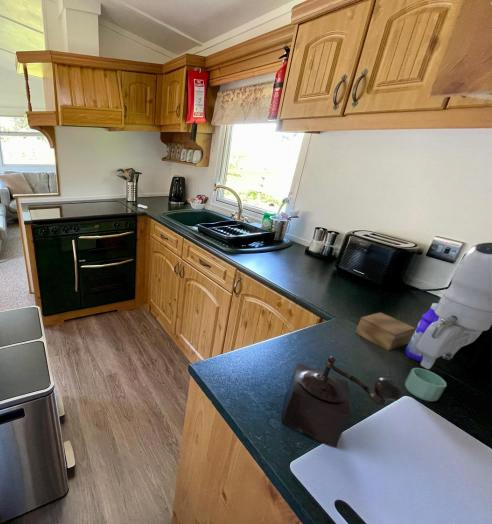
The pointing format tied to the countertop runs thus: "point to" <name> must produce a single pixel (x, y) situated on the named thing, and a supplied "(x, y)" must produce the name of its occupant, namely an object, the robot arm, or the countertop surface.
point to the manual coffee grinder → (326, 401)
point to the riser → (384, 330)
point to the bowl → (425, 384)
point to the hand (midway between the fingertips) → (435, 362)
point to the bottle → (421, 333)
